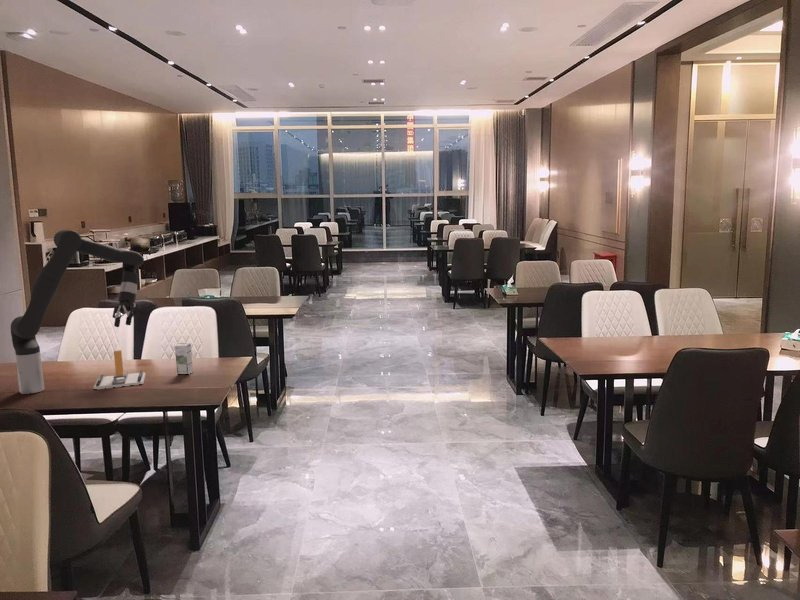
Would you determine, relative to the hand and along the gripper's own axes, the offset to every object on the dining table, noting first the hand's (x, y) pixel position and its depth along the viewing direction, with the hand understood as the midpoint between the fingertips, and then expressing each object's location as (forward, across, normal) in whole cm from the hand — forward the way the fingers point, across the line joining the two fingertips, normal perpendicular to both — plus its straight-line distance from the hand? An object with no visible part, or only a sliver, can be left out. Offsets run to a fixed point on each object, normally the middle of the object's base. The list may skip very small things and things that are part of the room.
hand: (122, 325), depth 298 cm
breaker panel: (+27, +4, +1) cm, 27 cm away
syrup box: (+20, +21, +23) cm, 37 cm away
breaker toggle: (+24, +4, 0) cm, 25 cm away
